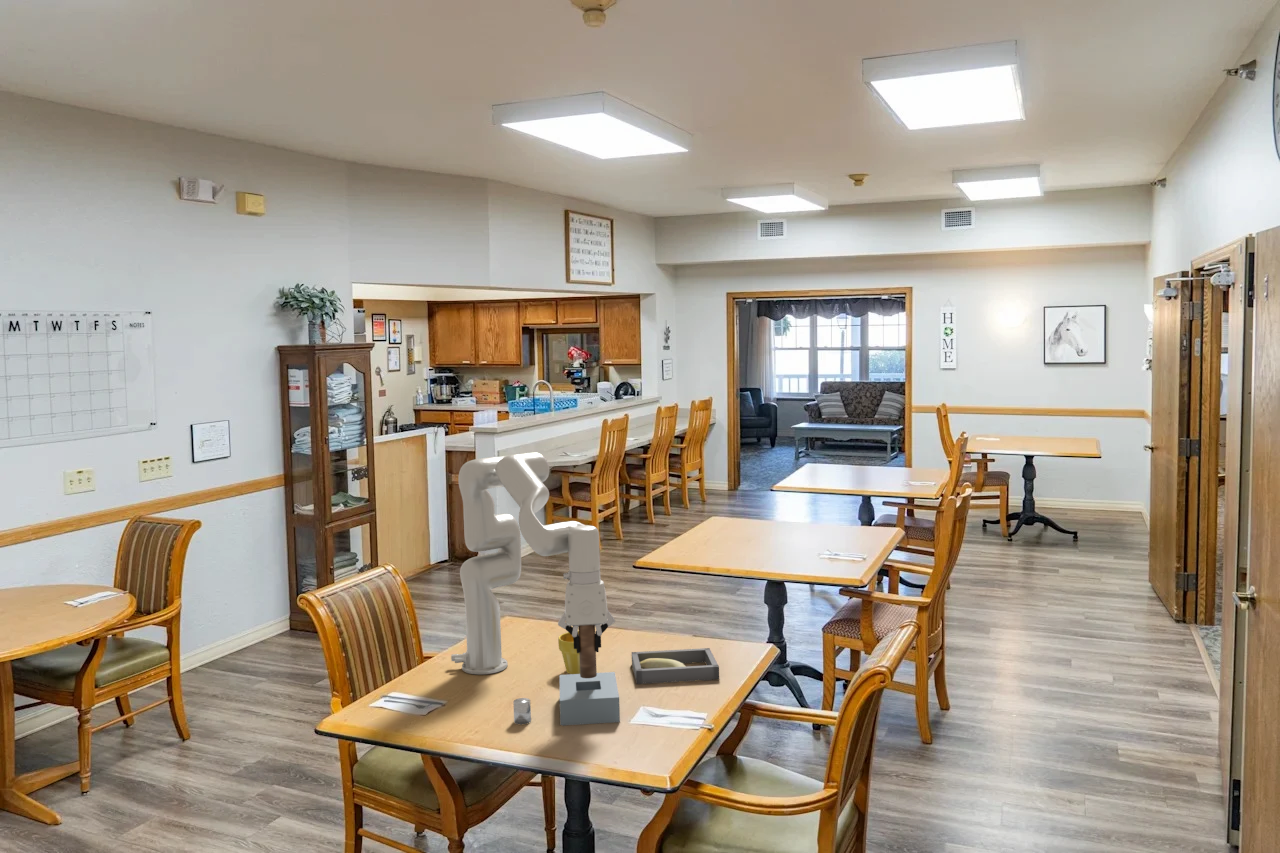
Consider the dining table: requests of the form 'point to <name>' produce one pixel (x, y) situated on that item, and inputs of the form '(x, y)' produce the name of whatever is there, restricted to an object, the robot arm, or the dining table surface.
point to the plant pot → (569, 653)
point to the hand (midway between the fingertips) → (587, 650)
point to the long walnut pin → (587, 651)
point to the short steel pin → (522, 711)
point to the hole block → (589, 699)
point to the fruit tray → (676, 673)
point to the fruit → (660, 663)
